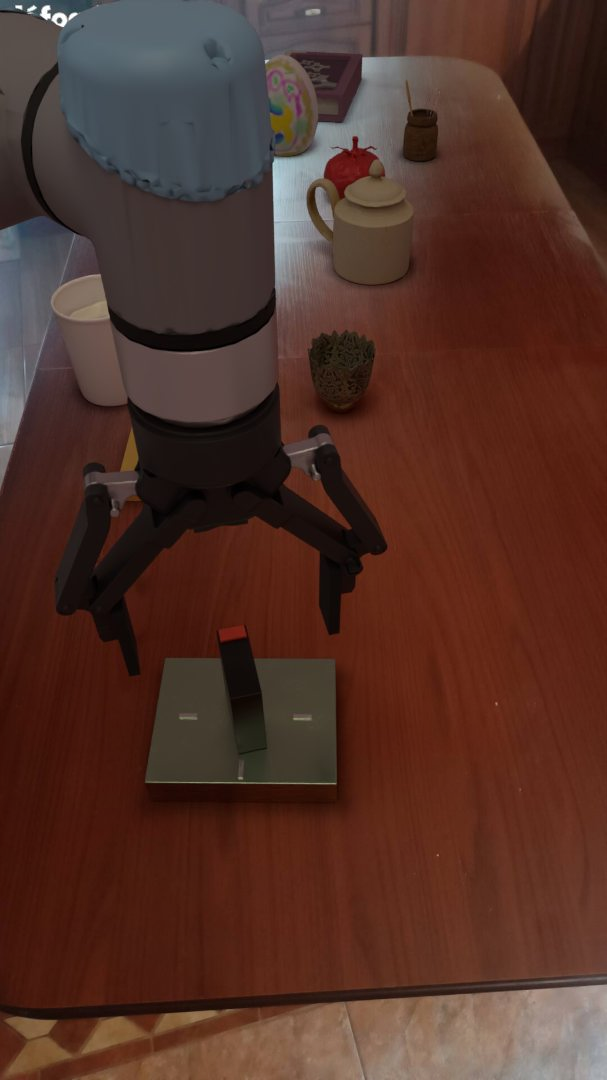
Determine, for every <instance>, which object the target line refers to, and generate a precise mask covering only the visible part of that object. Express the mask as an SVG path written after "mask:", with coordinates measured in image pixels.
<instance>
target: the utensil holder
mask: <svg viewBox="0 0 607 1080" xmlns="http://www.w3.org/2000/svg"><path fill="white" fill-rule="evenodd" d="M405 88H406V89H405V90H406V96H407V102H408V107H409V111H408V113H407V117H406V121H407V123H406V124H405V126H404V131H403V141H402V154H403V156H404V158H405V159H407V160H409V161H413V162H426V161H427V162H428V161H430V160H432V159H434V158H435V156H436V154H437V148H438V139H439V126H438V124H437V122H438V110H439V109H440V106H441V104H442V102H440V101H442V100H443V98H441V97H439V98H438V102H437V105H436V108H435V110H433V107H434V103H435V99H433V102H432V106H431V109H430V108H414V109H413V107H412V100H411V99H412V98H411V92H410V86H409V82H408V79H406V80H405ZM438 91H439V96H442V94H443V92H442V91H441V90H440V89H439V88H432V91H430V92H429V93H428V96H427V100H426V101H428V102H425V103H426V105H425V106H426V107H428V106H429V105H430V104H429V103H430V101H431V98H430V97H432V96H433V93H434V92H435V95H434V98H436V97H437V94H438ZM440 99H441V100H440ZM439 103H440V104H439Z"/></svg>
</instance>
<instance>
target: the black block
mask: <svg viewBox="0 0 607 1080" xmlns="http://www.w3.org/2000/svg"><path fill="white" fill-rule="evenodd" d="M215 633H216V639H217V646H218V652H219V658H220V659H221V665H222V672H223V678H224V685H225V690H226V695H227V700H228V705H229V710H230V715H231V720H232V725H233V730H234V735H235V740H236V745H237V750H238V754H239V753H244V752H248V751H253V750H257V749H262V748H266V747H267V741H266V730H265V720H264V710H263V699H262V691H261V687H260V682H259V678H258V674H257V670H256V666H255V661H254V658H255V657H254V654H253V649H252V644H251V641H250V636H249V632H248V629H247V624H242V625H236V626H231V627H227V628H226V627H225V628H222V629H216V630H215Z"/></svg>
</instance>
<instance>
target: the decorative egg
mask: <svg viewBox="0 0 607 1080" xmlns="http://www.w3.org/2000/svg"><path fill="white" fill-rule="evenodd" d="M265 65H266V76H267V86H268V96H269V107H270V117H271V127H272V129H273V130H275V139H276V142H275V155H274V157H275V156H276V157H293V156H297V155H300V154H302V153H304V152H306V150H307V149H308V148H309V147H310V146H311V144H312V142H313V140H314V138H315V136H316V132H317V130H318V124H319V121H318V103H317V98H316V93H315V90H314V87H313V84H312V82H311V80H310V78H309V76H308V74H307V72H306V71H305V69H304V68H303V67H302V66H301V65H300V64H299V62H297V61H296V60H295V59H294V58H292V57H290V56H287V55H284V54H277V55H275V56H272V57H271V58H270V59H268V61H267V62H265Z"/></svg>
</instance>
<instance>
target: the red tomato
mask: <svg viewBox="0 0 607 1080" xmlns="http://www.w3.org/2000/svg"><path fill="white" fill-rule="evenodd" d="M351 141H352V148H351V149H348V148H343V147H340V146H334V147H332V146H330V149H331V150H334V149H340V150H342V151H340V152H338V153H337V154H336V155H334V156H332V157H331V158H330V159H329V160H328V161H327V162H326V164H325V166H324V170H323V178H325V179H328V180H330V181H331V182H332V183H333V184H334V185H335V187H336V189H337V191H338V194H339V199H340V200H342V199H343V198H345V194H344V191H345V189H346V187H347V186H349V185H351V184H353V183H354V182H355V181H357V180H358V179H361V178H364V177H368V176H371V175H370V174H369V169H370V166H371V164H372V163H373V161H374V160H376V159H378V160H379V161H380V158H379V157H378V156H377V155H376V154H374V153H373V152H372V151H369V150H370V149H372V150H374V151H376V150H377V149H378V147H376V148H375V147H374V146H372V145H369V146H368V147H364V148H363V147H359V136H358V135H354V136H352V138H351ZM381 164H382V166H383V170H384V172H383V174H382V176H381V177H386V170H385V169H386V168H385V166H384V164H383V162H381Z"/></svg>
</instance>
